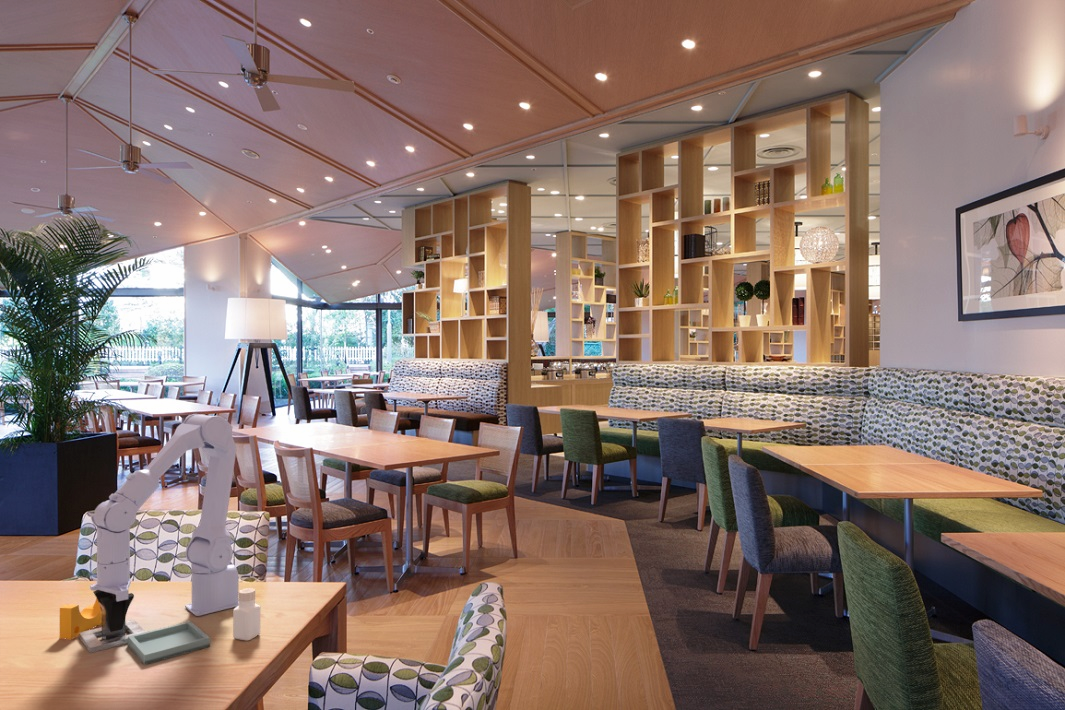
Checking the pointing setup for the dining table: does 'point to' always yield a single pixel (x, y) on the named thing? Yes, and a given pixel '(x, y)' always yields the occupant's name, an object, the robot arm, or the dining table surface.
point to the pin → (105, 627)
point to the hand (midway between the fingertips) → (113, 626)
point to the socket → (96, 645)
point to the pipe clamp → (78, 619)
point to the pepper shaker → (246, 616)
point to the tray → (168, 642)
